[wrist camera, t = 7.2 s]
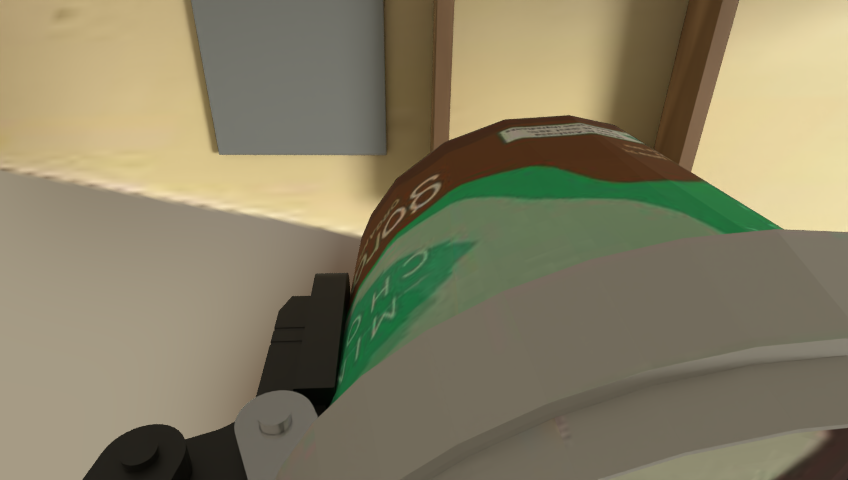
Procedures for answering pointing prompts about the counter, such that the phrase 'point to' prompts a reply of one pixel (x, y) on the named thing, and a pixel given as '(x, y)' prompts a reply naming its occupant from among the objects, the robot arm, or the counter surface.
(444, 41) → the frame
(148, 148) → the counter surface
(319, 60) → the rubber mat
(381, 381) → the food container
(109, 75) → the counter surface
